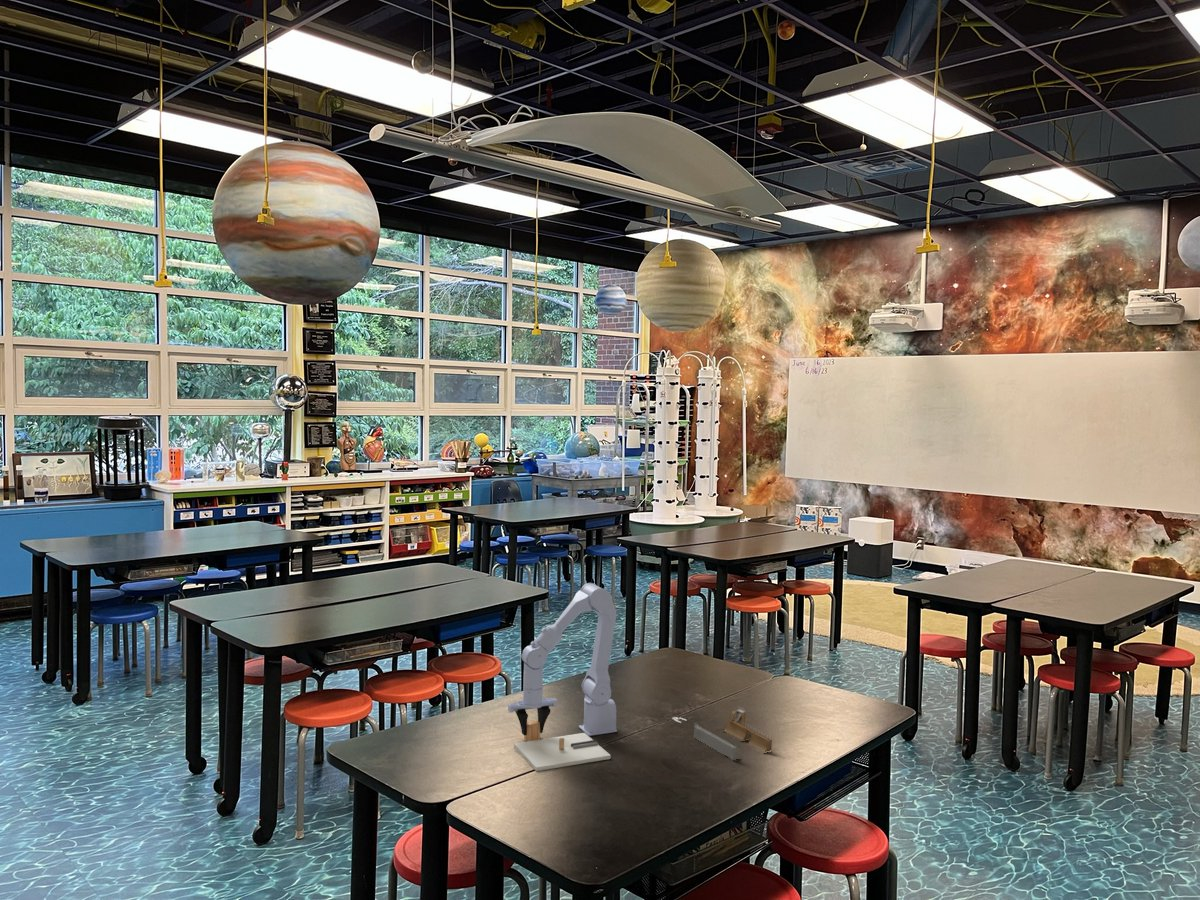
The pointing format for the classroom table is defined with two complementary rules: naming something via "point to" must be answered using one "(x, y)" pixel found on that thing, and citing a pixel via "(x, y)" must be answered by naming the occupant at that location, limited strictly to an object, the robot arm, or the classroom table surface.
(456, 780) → the classroom table surface
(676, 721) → the paper
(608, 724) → the robot arm
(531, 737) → the wire nut
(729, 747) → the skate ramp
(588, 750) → the plate
